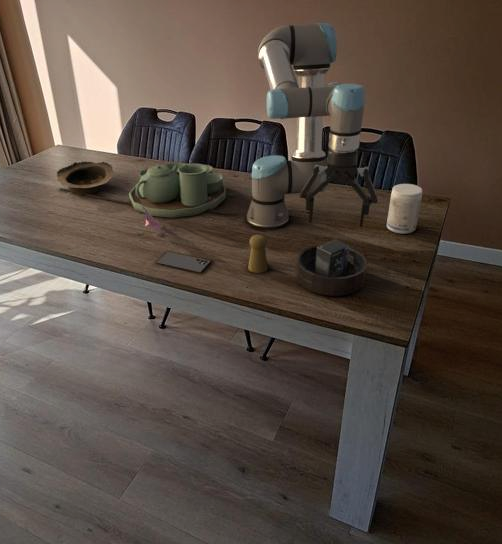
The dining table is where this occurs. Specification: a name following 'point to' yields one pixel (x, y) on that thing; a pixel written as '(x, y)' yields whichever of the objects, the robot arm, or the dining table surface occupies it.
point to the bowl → (331, 284)
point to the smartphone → (183, 262)
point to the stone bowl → (85, 176)
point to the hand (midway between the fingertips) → (335, 222)
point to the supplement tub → (404, 208)
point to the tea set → (178, 190)
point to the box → (332, 259)
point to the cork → (258, 254)
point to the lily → (151, 221)
